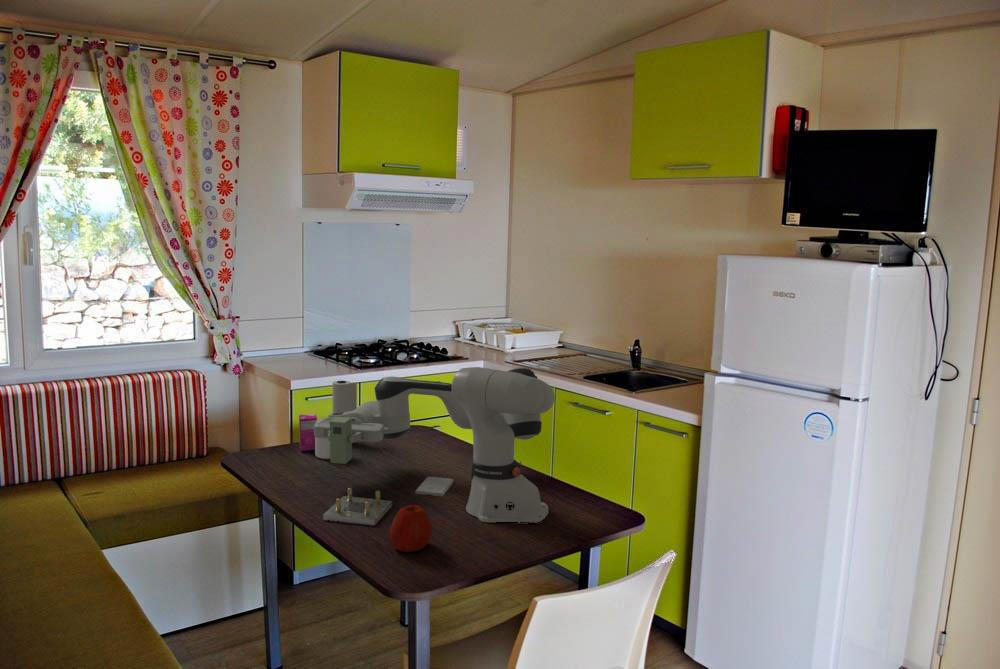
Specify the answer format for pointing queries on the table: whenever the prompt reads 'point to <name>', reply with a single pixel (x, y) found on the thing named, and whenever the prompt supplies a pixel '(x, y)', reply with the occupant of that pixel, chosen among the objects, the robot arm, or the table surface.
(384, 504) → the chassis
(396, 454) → the table surface
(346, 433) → the block
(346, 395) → the paper towel roll
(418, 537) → the apple
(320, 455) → the beverage can
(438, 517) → the table surface
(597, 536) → the table surface
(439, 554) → the table surface
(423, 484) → the external hard drive
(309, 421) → the supplement box
